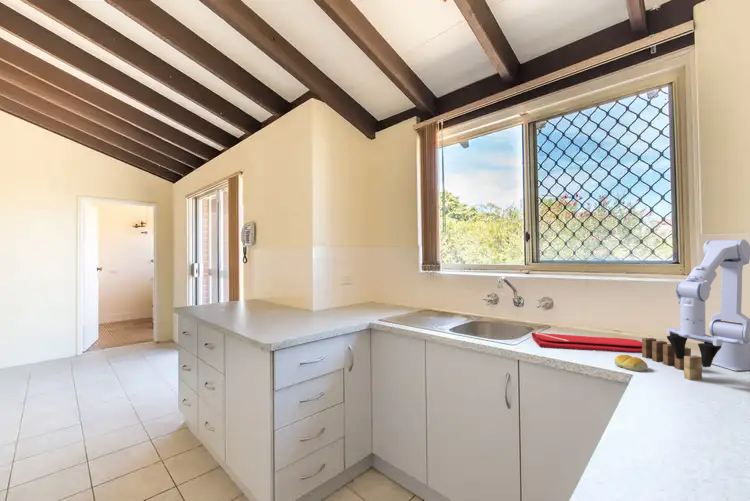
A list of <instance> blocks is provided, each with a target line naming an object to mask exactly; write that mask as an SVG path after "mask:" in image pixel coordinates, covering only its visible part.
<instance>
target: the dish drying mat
mask: <svg viewBox="0 0 750 501" xmlns="http://www.w3.org/2000/svg"><path fill="white" fill-rule="evenodd" d="M531 336H532V337H531V338H532V339H533V341H534V343H536V345H537V346H538V347H539V348H543V347H544V348H546V349H559V348H563V350H575V349H578V350H577V351H593V350H595V351H596V352H611V353H612V352H613V353H615V352H616V353H632V354H633V353H634V354H635V353H636V354H642V341H640V340H637V339H630V338H622V337H606V336H605V337H604V336H585V335H574V334H573V335H572V334H559V333H545V332H542V333H541V332H534V331H533V332H531Z"/></svg>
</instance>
